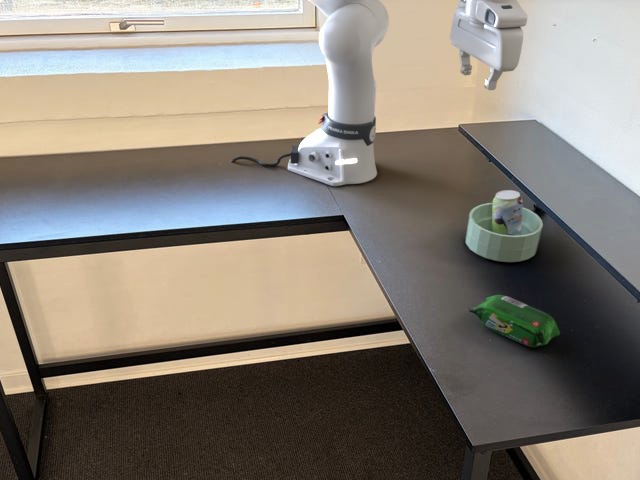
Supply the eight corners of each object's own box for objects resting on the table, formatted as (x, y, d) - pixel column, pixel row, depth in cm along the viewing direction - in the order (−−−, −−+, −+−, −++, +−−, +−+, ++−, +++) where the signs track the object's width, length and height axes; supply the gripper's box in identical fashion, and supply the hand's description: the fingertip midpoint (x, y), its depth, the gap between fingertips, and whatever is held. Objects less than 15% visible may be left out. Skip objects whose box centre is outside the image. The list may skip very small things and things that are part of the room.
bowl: (456, 253, 153) (460, 225, 149) (476, 223, 164) (481, 196, 160) (527, 271, 149) (533, 243, 145) (542, 239, 160) (549, 212, 156)
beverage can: (518, 255, 153) (529, 203, 145) (483, 249, 154) (492, 197, 146) (520, 241, 157) (531, 190, 150) (486, 236, 159) (496, 184, 151)
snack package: (484, 307, 138) (488, 283, 135) (559, 340, 131) (566, 316, 127) (464, 323, 133) (468, 300, 130) (541, 358, 126) (548, 334, 123)
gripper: (447, -6, 143) (438, 67, 152) (503, 20, 128) (490, 99, 137) (474, -7, 145) (464, 64, 154) (533, 18, 131) (518, 96, 139)
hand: (477, 81), depth 145 cm, fingers open, 8 cm apart
